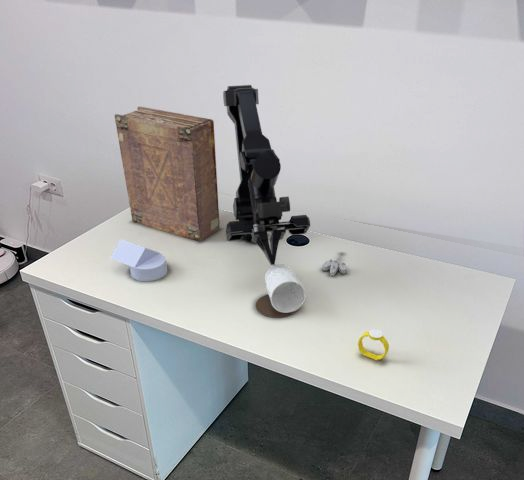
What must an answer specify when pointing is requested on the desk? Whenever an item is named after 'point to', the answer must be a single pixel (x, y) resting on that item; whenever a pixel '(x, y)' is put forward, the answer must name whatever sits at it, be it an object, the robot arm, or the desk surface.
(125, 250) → the wedge on round base
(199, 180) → the book
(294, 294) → the white cup
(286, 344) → the desk surface
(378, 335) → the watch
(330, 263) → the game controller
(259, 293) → the desk surface
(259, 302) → the coaster
